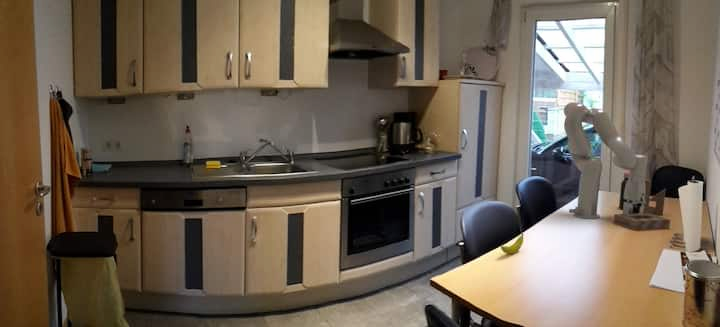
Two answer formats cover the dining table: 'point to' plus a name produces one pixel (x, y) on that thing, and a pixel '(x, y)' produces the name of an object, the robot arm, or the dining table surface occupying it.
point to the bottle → (623, 190)
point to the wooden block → (657, 198)
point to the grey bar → (631, 208)
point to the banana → (513, 246)
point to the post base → (641, 221)
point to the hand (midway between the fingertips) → (632, 213)
